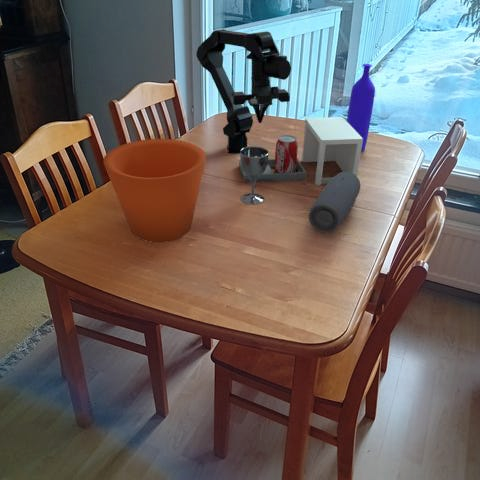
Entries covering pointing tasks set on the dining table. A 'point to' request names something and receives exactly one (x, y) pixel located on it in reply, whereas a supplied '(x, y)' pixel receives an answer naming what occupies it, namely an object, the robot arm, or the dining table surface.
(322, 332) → the dining table surface
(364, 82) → the bottle
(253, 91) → the robot arm
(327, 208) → the bluetooth speaker
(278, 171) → the soda can
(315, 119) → the white side table
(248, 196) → the wine glass
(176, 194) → the flowerpot
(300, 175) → the tray
